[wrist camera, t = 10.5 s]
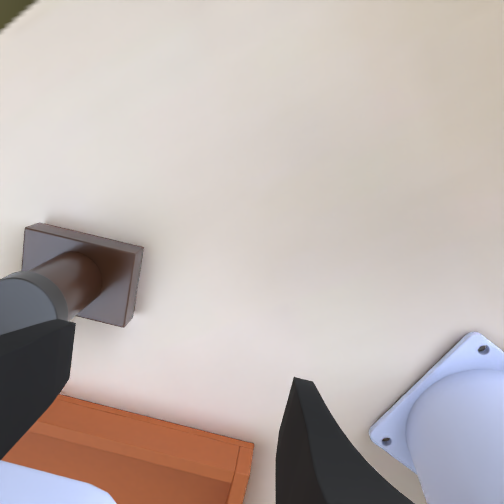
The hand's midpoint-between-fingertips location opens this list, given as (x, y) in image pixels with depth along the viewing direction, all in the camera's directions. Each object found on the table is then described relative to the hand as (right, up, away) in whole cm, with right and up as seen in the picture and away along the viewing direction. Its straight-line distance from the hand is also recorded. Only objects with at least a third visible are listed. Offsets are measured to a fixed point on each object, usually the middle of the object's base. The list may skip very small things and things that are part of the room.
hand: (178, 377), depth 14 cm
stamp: (-6, +3, +10) cm, 12 cm away
